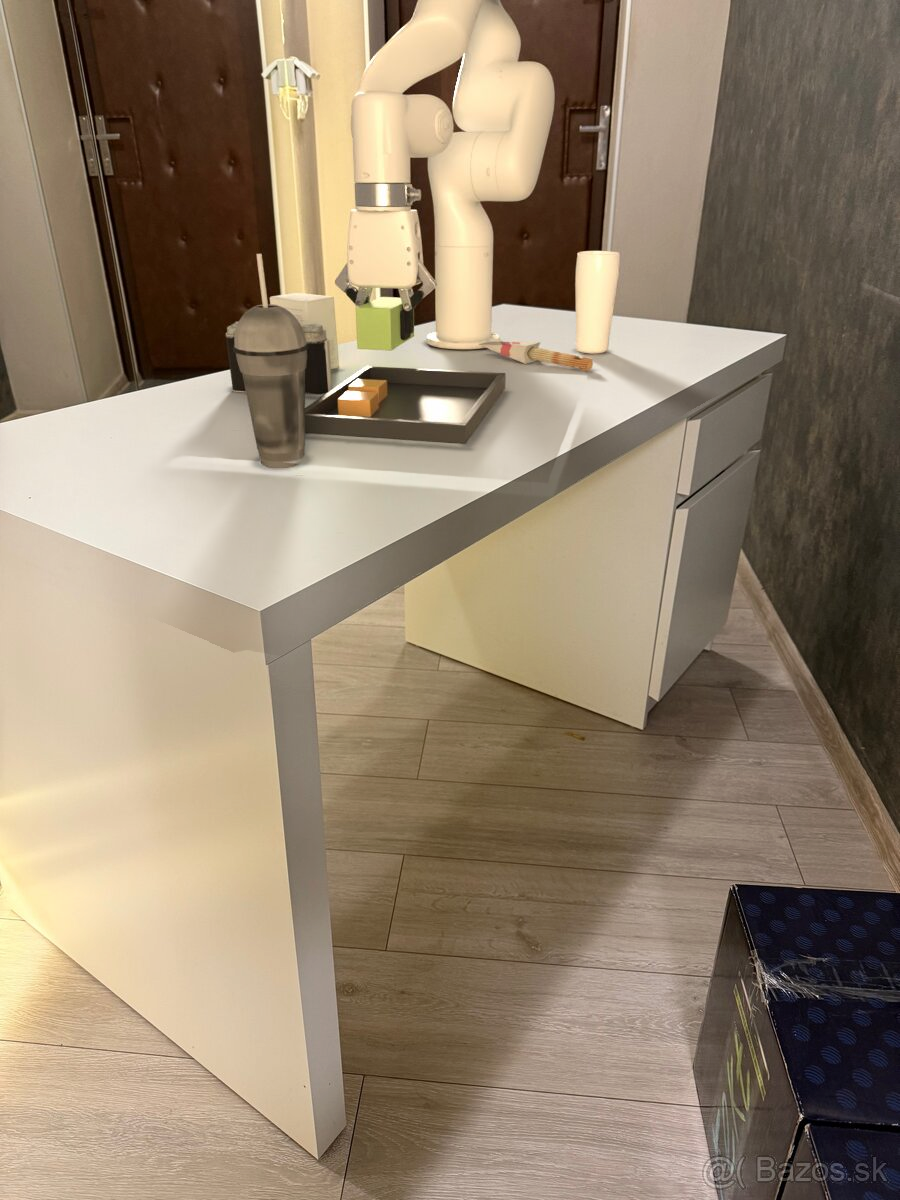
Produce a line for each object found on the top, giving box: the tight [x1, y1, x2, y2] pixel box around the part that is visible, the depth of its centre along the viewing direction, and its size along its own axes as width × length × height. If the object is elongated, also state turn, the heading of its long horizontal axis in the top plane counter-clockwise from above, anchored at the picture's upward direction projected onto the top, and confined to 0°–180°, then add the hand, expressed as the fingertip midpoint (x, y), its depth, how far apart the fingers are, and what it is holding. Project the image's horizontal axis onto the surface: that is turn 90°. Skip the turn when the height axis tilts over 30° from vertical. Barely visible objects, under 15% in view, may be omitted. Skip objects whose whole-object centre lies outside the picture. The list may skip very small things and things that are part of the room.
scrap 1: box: [348, 379, 387, 403], centre depth 106 cm, size 4×4×2 cm
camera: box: [225, 320, 333, 395], centre depth 109 cm, size 15×7×10 cm, turn 72°
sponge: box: [355, 296, 415, 352], centre depth 119 cm, size 12×5×6 cm, turn 167°
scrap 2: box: [338, 391, 379, 417], centre depth 101 cm, size 4×4×2 cm
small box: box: [269, 292, 340, 370], centre depth 122 cm, size 8×6×10 cm
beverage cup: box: [233, 253, 308, 469], centre depth 82 cm, size 7×7×20 cm
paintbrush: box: [478, 341, 594, 372], centre depth 128 cm, size 4×3×20 cm
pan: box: [305, 365, 507, 445], centre depth 102 cm, size 26×20×3 cm
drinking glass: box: [574, 250, 621, 355], centre depth 133 cm, size 7×7×15 cm
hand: (386, 336), depth 120 cm, fingers closed on sponge, 5 cm apart
